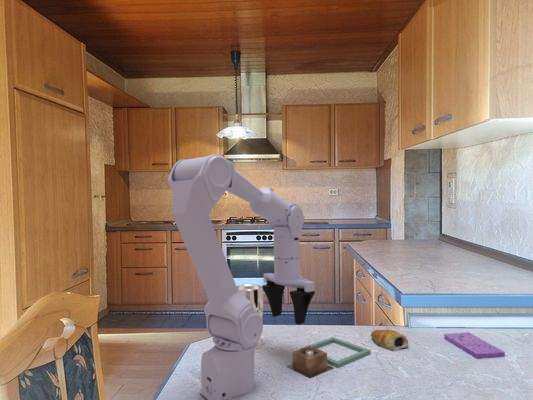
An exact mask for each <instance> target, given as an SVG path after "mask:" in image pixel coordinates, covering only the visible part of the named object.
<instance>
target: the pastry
mask: <svg viewBox="0 0 533 400" xmlns="http://www.w3.org/2000/svg"><path fill="white" fill-rule="evenodd" d="M370 337H371V340H373V342H375V344H376V345H377V346H379V347H381V348H382V349H385V350H387V351H390V352H395V351H399V350H402V349H405V348H407V347H408V345H409V339H408V338H407V336H406V335H405V334H403V333H400V332H398V331H396V330H394V329H375V330H372V332H371V334H370Z"/></svg>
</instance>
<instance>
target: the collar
mask: <svg viewBox="0 0 533 400" xmlns="http://www.w3.org/2000/svg"><path fill="white" fill-rule="evenodd" d="M307 346H308V347H306V346H304V347H305V348H303V347H301V348H302V349H300V348H299V349H297V350H295V351H292V364H293V367H295V368H297V369H299V370H301V371H303V372H305V373H307V374H309V375H311V374H314V373H316V372H318V371H321V370H323V369H325V368H327V365H328V364H327V357H328V352H326V351H324V350H321V349H319V348H317V349H316V348H314V347H311V346H309V345H307ZM306 350H312V351H314V355H312V356H308V355H306Z"/></svg>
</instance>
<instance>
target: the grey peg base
mask: <svg viewBox="0 0 533 400" xmlns="http://www.w3.org/2000/svg"><path fill="white" fill-rule="evenodd" d="M306 355H308V356H312V355H314V351H312V350H306ZM286 368H288V369H290V370H292V371H293V372H296V373H298V374H300V375H301V376H304V377H305V378H308V379H313V378H315V377H317V376H319V375H322V374H324V373H326V372H328V371H331V370H333V369H335V367H334V366H331V365H329V364H327V368H325V369H323V370H321V371H318V372H316V373H314V374H311V375H309V374H307V373H305V372H303V371H301V370H299V369H297V368H295V367H293V363H291V364H289V365H286Z"/></svg>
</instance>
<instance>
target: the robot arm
mask: <svg viewBox="0 0 533 400" xmlns="http://www.w3.org/2000/svg"><path fill="white" fill-rule="evenodd" d="M167 182H168V185H169V187H170V189H171V192H172V193H171V194H172V196H171V197H172V216H173V219H174V222H175V225H176V227H177V229H178V231H179V234H180V237H181V239H182V240H183V244H184V245H185V248H186V250H187V253H188V255H189V257H190V260H191V262H192V265H193V266H194V269H195V271H196V274H197V276H198V279H199V281H200V283H201V286H202V288H203V290H204V292H205V295H206V298H207V300H208V302H207V303H206V304H205V306H204V308H203V312H204V314H205V318H206V319H205V320H206V323H205V324H206V330H207V333H208V334H209V335H210V336H212V343H214V345H213V346H212V348H209V349H208V350H206V351H204V352H203V353H202V355H201V361H200V372H201V374H200V376H201V378H200V379H201V387H200V389H199V394H201V395H202V396H203V397H204V398H205V399H206V400H228V399H230V398H234V397H237V396H242V395H245V394H248V393H250V392H251V391H252V390H254V388H255V385H256V382H255V377H256V375H255V349H254V345H256V344H257V342H258V340H259V339H260V337H261V338H262V334H263V328H264V322H263V316H262V317H261V315H260V314H259V313H258V312H257V311H256V310H255V309H254V307H253V305H252V303H251V302H250V301H249V300H248V299H247V298H246V297H244V296H243V295H242V294H241V293H240V292H239V291H238V289H237V286H238V285H237V284H236V282H235V279H234V277H233V274H232V272H231V269H230V267H229V264H228V261H227V259H226V256H225V253H224V251H223V248H222V246H221V243H220V240H219V237H218V236H217V233H216V230H215V228H214V226H213V222H212V220H211V218H210V214H211V211H212V209H215V207H216V205H217V204H218V202H219V201H220V200H221V198H222V197H223V195H224V194H225V192H228V193H230V194H232V195H233V196H236V197H238V199H242V200H243V201H244V202H247V203H249V208H250V210H251V212H253V213H254V214H257V215H258V216H259V217H261V218H263V219H264V220H266V221H267V223H268V226H269V228H271V229H272V230H273V265H274V266H273V270H274V271H273V272H274V273H272V272H268V273H263V282H264V283H266V284H263V285H261V286H262V291H263V293H264V294H265V296H266V298H267V301H268V303H269V308H270V311H271V315H272V317H274V318H275V317H278V316H279V317H280V316H282V311H283V298H284V297H283V296H284V292H285V291H284V290H285V287H288V288H291V289H296V290H292V291H289V295H290V297H291V298H290V299H291V301H292V305H293V315H294V322H295V325H301V324H305V321H306V317H307V313H308V309H309V306H310V304H311V302H312V299H313V297H314V296H315V293H316V292H315V291H316V290H315V281H312V280H309V279H306V278H304V277H303V275H301V258H300V252H301V251H300V249H301V248H300V238H301V237H302V233H303V231H302V230H303V226H304V223H305V215H304V211H303V209H302V207H301V206H299V205H298V204H297V203H289V201H287V199H286V198H284V197H281V196H280V195H278V194H277V193H275V192H274V188H272V187H270V186H269V187H268V186H267V187H265V186H264V187H260V188H259V187H257V185H255V184H254V183H253V182H251V180H249V179H248V178H247V177H245V176H244V175H243V174H242V173H241V172H239V171H238V170H237V169H236V167H235V163H234V162H232V161H231V160H229V159H227V158H226V157H225V156H224V155H223V154H219V153H213V154H210V155H207V156H201V157H195V158H183V159H179V160H178V161H176V163H175V164H173V166H172V169H171V171H170V172H169V176H168V178H167Z"/></svg>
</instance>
